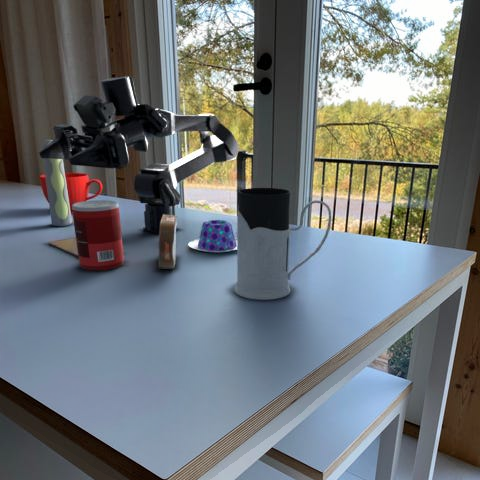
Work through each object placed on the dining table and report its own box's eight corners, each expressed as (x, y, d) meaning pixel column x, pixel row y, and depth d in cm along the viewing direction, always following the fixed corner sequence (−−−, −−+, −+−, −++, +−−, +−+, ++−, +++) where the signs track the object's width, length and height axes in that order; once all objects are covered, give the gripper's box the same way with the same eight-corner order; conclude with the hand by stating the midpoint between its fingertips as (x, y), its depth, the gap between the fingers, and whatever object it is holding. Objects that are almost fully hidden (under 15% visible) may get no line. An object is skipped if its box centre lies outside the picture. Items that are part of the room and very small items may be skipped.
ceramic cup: (98, 215, 131) (94, 178, 127) (37, 215, 131) (31, 177, 127) (110, 207, 143) (107, 173, 139) (55, 207, 143) (49, 172, 139)
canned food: (132, 261, 89) (126, 201, 84) (108, 273, 82) (100, 208, 78) (97, 257, 91) (90, 199, 87) (70, 268, 84) (61, 206, 80)
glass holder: (235, 280, 78) (235, 187, 72) (321, 281, 78) (328, 187, 72) (233, 299, 70) (232, 195, 64) (329, 300, 70) (338, 196, 64)
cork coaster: (79, 238, 106) (79, 237, 106) (120, 254, 93) (119, 252, 93) (48, 243, 101) (48, 242, 101) (86, 260, 89) (86, 259, 89)
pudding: (257, 247, 99) (258, 222, 97) (216, 258, 90) (216, 231, 88) (217, 238, 106) (217, 214, 104) (176, 247, 98) (174, 222, 96)
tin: (163, 252, 94) (161, 210, 91) (179, 252, 95) (177, 209, 91) (158, 275, 80) (154, 226, 77) (176, 275, 81) (174, 226, 77)
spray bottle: (74, 225, 119) (63, 140, 111) (54, 227, 116) (41, 140, 108) (69, 222, 122) (57, 139, 115) (49, 224, 120) (36, 139, 112)
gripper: (78, 90, 98) (11, 108, 88) (141, 96, 88) (73, 117, 79) (92, 145, 104) (31, 167, 95) (152, 156, 95) (91, 182, 85)
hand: (54, 158), depth 88 cm, fingers open, 9 cm apart
